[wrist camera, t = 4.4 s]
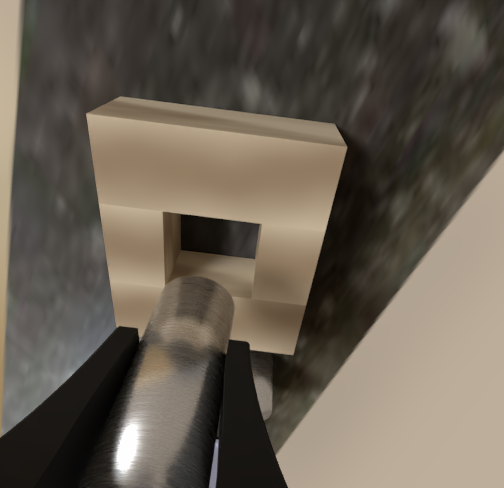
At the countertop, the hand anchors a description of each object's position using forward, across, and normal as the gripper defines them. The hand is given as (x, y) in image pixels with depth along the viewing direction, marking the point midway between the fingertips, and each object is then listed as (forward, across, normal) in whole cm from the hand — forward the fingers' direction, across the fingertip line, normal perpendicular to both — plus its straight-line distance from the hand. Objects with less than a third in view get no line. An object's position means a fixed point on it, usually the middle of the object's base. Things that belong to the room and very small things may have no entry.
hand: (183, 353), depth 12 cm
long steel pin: (+2, 0, 0) cm, 2 cm away
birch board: (+9, 0, 0) cm, 9 cm away
